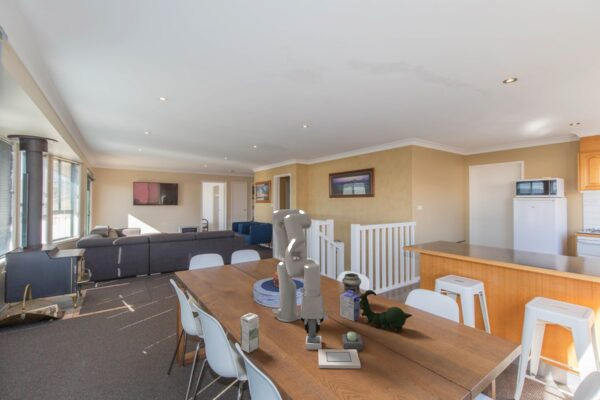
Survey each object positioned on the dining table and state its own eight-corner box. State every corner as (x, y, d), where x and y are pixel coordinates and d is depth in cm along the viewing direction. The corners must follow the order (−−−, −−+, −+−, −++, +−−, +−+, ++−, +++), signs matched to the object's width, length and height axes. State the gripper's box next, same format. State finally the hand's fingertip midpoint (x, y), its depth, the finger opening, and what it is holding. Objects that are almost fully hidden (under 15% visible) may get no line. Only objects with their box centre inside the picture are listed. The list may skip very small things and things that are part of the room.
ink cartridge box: (360, 318, 147) (359, 292, 147) (354, 321, 143) (353, 294, 143) (346, 313, 154) (345, 287, 154) (339, 316, 151) (339, 290, 151)
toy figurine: (360, 329, 138) (412, 337, 125) (356, 291, 139) (407, 295, 126) (366, 322, 146) (415, 329, 133) (362, 286, 147) (411, 289, 134)
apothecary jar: (340, 306, 165) (339, 276, 165) (344, 299, 176) (344, 271, 177) (360, 308, 161) (359, 278, 161) (363, 301, 172) (362, 273, 172)
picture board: (318, 368, 104) (318, 364, 104) (318, 352, 115) (318, 349, 115) (360, 368, 103) (360, 364, 103) (356, 352, 114) (356, 349, 114)
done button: (348, 344, 118) (347, 336, 118) (346, 339, 122) (346, 331, 122) (357, 344, 118) (357, 336, 118) (355, 339, 122) (355, 331, 122)
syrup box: (250, 343, 123) (249, 312, 123) (259, 348, 120) (258, 315, 120) (240, 349, 119) (239, 316, 119) (249, 353, 115) (248, 319, 115)
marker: (307, 340, 120) (307, 317, 120) (307, 335, 124) (307, 313, 124) (317, 340, 120) (316, 317, 119) (316, 335, 124) (316, 313, 124)
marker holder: (305, 349, 118) (305, 343, 118) (306, 341, 124) (306, 335, 124) (321, 349, 117) (321, 343, 117) (321, 341, 124) (321, 335, 124)
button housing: (344, 350, 116) (343, 343, 116) (342, 340, 124) (341, 334, 124) (362, 350, 116) (362, 343, 116) (359, 340, 124) (359, 334, 124)
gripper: (292, 294, 118) (293, 336, 119) (331, 295, 117) (331, 336, 118) (294, 288, 125) (294, 327, 126) (330, 289, 125) (330, 328, 125)
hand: (312, 331), depth 122 cm, fingers closed on marker, 4 cm apart
